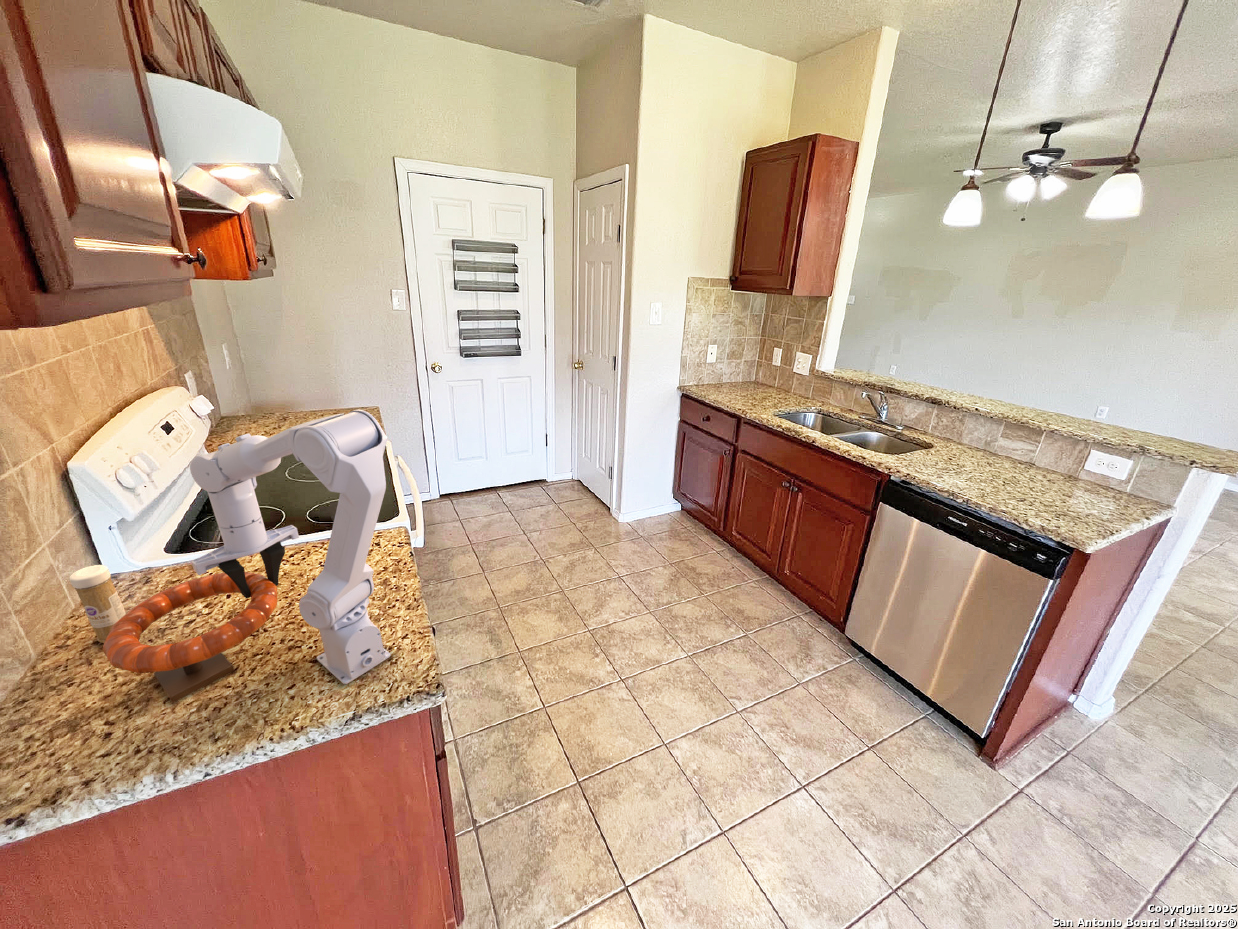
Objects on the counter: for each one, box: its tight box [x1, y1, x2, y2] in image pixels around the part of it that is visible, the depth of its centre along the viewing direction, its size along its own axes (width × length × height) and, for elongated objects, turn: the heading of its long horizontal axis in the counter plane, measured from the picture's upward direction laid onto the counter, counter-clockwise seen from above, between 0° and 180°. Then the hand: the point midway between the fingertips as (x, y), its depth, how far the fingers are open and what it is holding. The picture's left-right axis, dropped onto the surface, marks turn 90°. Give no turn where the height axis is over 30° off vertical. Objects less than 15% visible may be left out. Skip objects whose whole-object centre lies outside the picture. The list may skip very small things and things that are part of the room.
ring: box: [102, 571, 278, 674], centre depth 78 cm, size 21×21×4 cm
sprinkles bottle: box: [68, 564, 127, 644], centre depth 84 cm, size 5×5×13 cm
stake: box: [153, 652, 235, 704], centre depth 78 cm, size 8×8×6 cm
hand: (260, 589), depth 84 cm, fingers closed on ring, 3 cm apart
